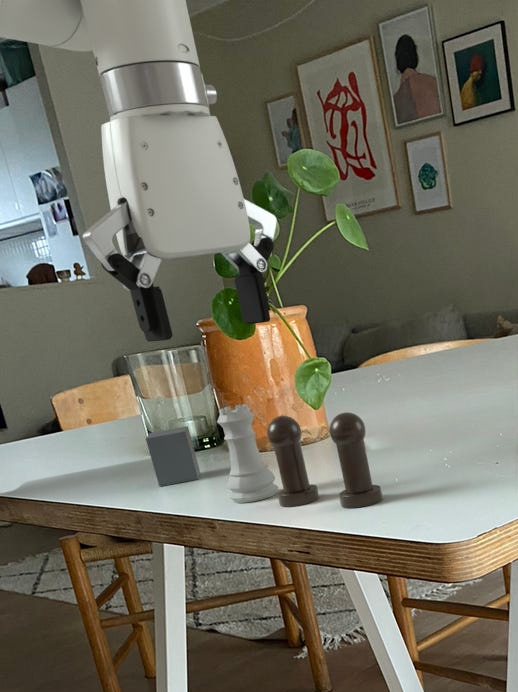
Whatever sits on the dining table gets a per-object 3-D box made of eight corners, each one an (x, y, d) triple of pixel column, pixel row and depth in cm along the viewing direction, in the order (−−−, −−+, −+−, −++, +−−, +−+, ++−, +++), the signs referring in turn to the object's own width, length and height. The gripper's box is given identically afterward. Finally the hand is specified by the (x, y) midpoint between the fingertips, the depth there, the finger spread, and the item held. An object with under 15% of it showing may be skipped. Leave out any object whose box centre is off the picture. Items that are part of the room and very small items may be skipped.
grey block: (159, 486, 96) (145, 438, 94) (162, 479, 99) (149, 433, 97) (198, 479, 96) (185, 431, 94) (200, 472, 100) (187, 426, 98)
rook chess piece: (265, 501, 81) (242, 409, 78) (220, 505, 82) (197, 414, 79) (288, 488, 85) (267, 399, 82) (245, 492, 86) (223, 405, 83)
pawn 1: (275, 508, 78) (255, 422, 75) (284, 498, 81) (265, 415, 78) (315, 503, 77) (296, 416, 75) (322, 493, 81) (304, 410, 78)
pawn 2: (338, 510, 74) (318, 419, 71) (345, 499, 77) (326, 412, 74) (379, 504, 74) (362, 413, 71) (385, 494, 77) (368, 406, 74)
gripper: (223, 111, 80) (267, 319, 86) (26, 110, 69) (94, 349, 75) (275, 92, 75) (317, 314, 82) (73, 88, 64) (140, 346, 70)
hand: (210, 331), depth 78 cm, fingers open, 9 cm apart
